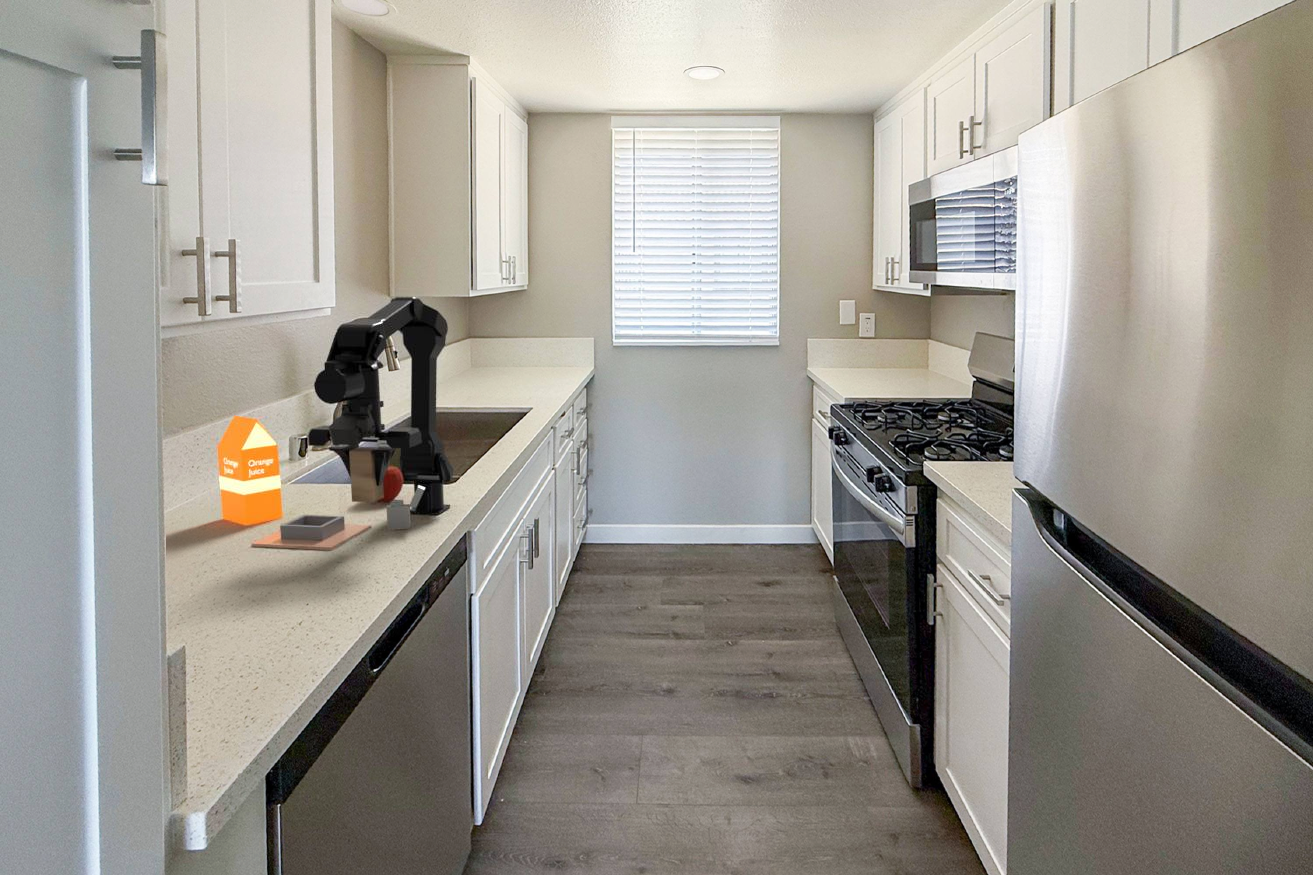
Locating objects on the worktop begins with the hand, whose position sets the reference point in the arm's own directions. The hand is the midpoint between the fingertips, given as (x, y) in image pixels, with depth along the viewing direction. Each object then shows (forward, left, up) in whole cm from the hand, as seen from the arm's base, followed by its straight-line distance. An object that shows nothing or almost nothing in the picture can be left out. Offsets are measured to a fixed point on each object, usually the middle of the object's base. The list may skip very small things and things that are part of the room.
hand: (367, 485), depth 165 cm
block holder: (-2, -12, -10) cm, 16 cm away
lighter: (-11, +2, -11) cm, 16 cm away
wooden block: (0, 0, -2) cm, 2 cm away
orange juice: (-13, -31, -11) cm, 35 cm away
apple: (-31, -12, -11) cm, 35 cm away
